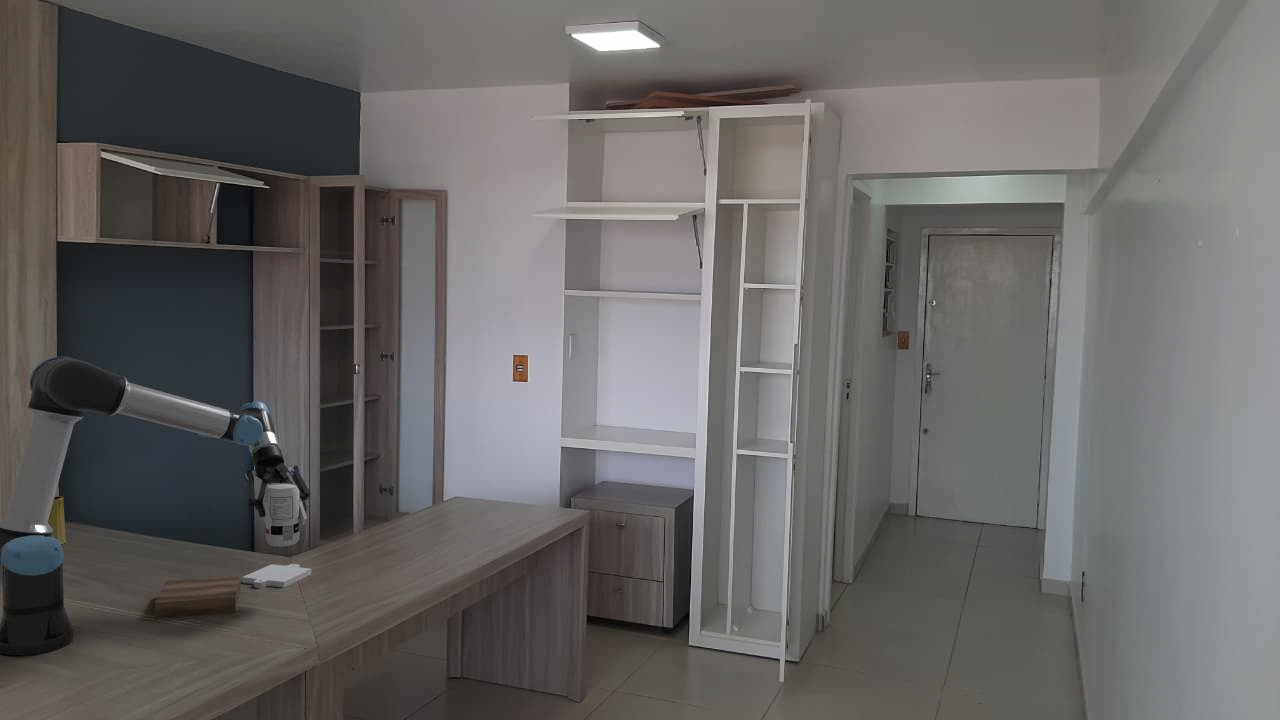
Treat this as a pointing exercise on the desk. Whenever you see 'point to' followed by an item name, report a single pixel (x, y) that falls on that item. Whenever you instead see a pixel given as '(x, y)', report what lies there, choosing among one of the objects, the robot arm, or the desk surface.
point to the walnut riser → (198, 597)
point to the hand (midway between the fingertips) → (287, 524)
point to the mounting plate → (276, 575)
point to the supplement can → (283, 514)
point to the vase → (57, 519)
